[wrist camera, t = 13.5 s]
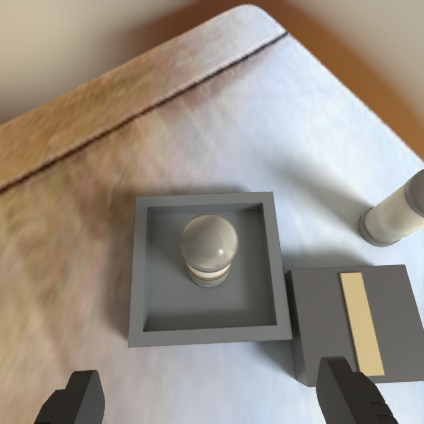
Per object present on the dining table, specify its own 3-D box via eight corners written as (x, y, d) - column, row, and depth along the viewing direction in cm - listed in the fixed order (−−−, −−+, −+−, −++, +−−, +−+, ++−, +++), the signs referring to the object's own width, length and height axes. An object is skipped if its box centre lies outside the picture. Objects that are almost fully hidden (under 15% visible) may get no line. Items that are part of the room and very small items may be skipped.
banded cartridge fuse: (187, 289, 25) (179, 271, 17) (187, 247, 26) (179, 214, 19) (230, 287, 25) (240, 268, 18) (227, 245, 26) (235, 212, 19)
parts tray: (135, 345, 24) (127, 347, 22) (142, 207, 28) (135, 196, 26) (284, 338, 24) (292, 339, 22) (267, 202, 29) (272, 191, 26)
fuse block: (296, 380, 23) (309, 387, 20) (282, 276, 26) (292, 269, 23) (410, 374, 23) (440, 380, 20) (384, 271, 26) (406, 264, 23)
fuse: (363, 247, 27) (422, 216, 20) (354, 211, 28) (406, 168, 21) (402, 246, 27) (475, 214, 20) (391, 209, 28) (456, 166, 21)
